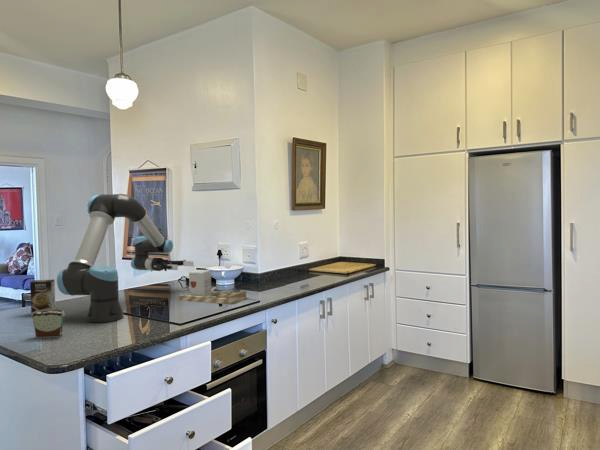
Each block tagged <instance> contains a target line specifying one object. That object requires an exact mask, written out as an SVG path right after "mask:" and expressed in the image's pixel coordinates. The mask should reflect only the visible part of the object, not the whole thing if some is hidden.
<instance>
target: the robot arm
mask: <svg viewBox="0 0 600 450" xmlns="http://www.w3.org/2000/svg"><path fill="white" fill-rule="evenodd" d="M87 212H88V216H89V218H90V221H89V223H88V226H87V228H86V231H85V233H84V235H83V238H82V240H81V243H80V245H79V248H78V250H77V253H76V255H75V257H74V260H73V261H70V262H69V263H68V266H67V268H64V269H62V270H60V271H59V272H58V274H57V277H56V284H57V288H58V290H59V292H61V294H62V295H63V294H64V295H66V296H73V297H74V296H89V297H90V302H89V303H90V304H89V308H88V310H87V314H86V322H88V323H92V324H94V323H97V324H98V323H99V324H100V323H110V322H113V321H119V320H121V319H123V318H124V310H123V308H122V306H121V302H120V299H119V296H120V295H119V276H118V275H119V274H118V270H117V269H116V268H115V267H113V266H105V265H95V263H96V260H97V258H98V255H99V252H100V250H101V247H102V244H103V242H104V239H105V237H106V234H107V231H108V229H109V226H110V225H112V224H113V223H114V222H115V219H116V218H126V219H128V221H130V222H132V223H133V224H134V225H135V226H136V227H137V228H138V229H139V231H140V232H141V234H143V235H144V236H143V235H141V236H136V237H134V241H133V242H134V256H133V258H131V260H130V266H131V268H132V269H133V270H138V271H150V272H151V273H153V272H161V271H163V270H164V272H167V270H170V271H178V270H179V266H180V267H181V266H183V267H194V261H192V260H191V261H190V260H188V261H187V260H186V259H183V260H164V258H162V257H154V256H151V257H150V256H149V254H150V253H151V254H156V253H157V254H159V253H160V254H168V253H172V251H173V247H174V244H173V241H172V240H170V239H166V238H165V237H164V236H163V235H162V233H161V232H160V230H159V229H158V228H157V226H156V225H155V223H153V221H152V219H151V218H150V217H149V215H148V214H147V210H146V208H145V207H144V205H142V204H141V203H140V202H139V201H138V200H137V199H135V198H134V197H132V196H130V195H128V194H124V193H119V194H118V193H116V194H113V193H111V194H104V193H102V194H96V195H93V196H92V197H91V198H90V199H89V200H88V203H87ZM94 265H95V266H94Z"/></svg>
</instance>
